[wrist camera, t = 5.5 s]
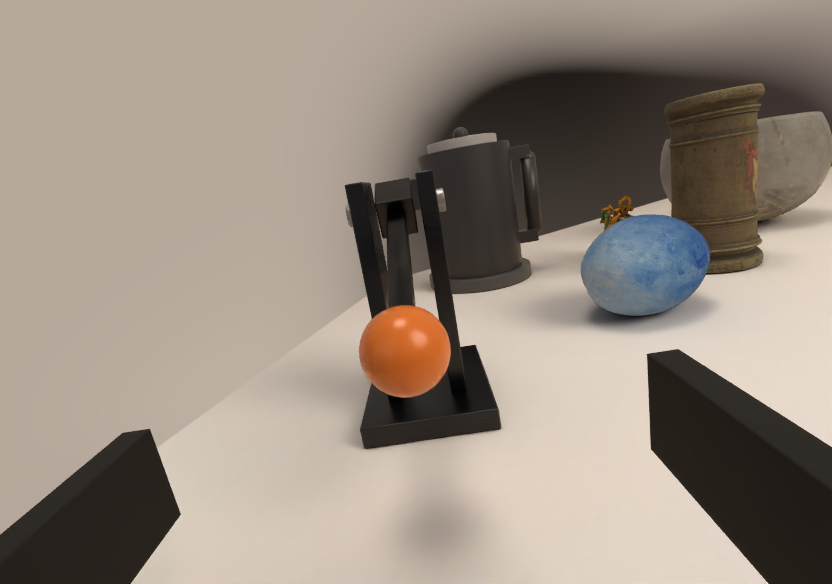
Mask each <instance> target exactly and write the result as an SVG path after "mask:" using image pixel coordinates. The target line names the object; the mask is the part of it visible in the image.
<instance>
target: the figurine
mask: <svg viewBox="0 0 832 584" xmlns="http://www.w3.org/2000/svg"><path fill="white" fill-rule="evenodd" d="M624 200H628V205H627V206H622V202H623V201H624ZM630 203H631V199H630V197H627V196H625V197H623V198H621V199H620V201H619V206H620V208H618V209H615V210H613V209H612V207H611V206H610V205H609V206H608V207H607V208H603V209H602V213H603V214H602V215H601V216H600V217H601V221H600V223H604V222H605V227H604V231H605V230H606V229H607V228H609V227H610V226H612V225H613V224H615V223H617V222H619V221H621V220H624V219H627V218H630V217H635V216H631V215H629V214H628V211H632V210H633V209H634V208H633V207H630V206H629V205H630ZM623 208H625V210H624V209H623ZM604 209H605V212H603V210H604ZM629 209H630V210H629ZM612 210H613V217H611V216H610V215H609V214H608V211H609V213H611V211H612ZM619 213H620V214H619ZM618 214H619V215H618Z"/></svg>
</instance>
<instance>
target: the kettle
mask: <svg viewBox="0 0 832 584" xmlns="http://www.w3.org/2000/svg"><path fill="white" fill-rule="evenodd" d="M427 149H428V154H426V155H423V156H420V157H418V165H419V171H420V172H421V171H427V170H433V174H434V180H435V187H436V189H439V188H443V191H444V196H445V203H446V211H443V212H439V213H440V219H441V226H442V232H443V239H444V245H445V252H446V258H447V265H448V271H449V278H450V284H451V290H452V293H474V292H482V291H489V290H495V289H499V288H503V287H507V286H511V285H514V284H517V283H519V282H521V281H524V280H525V279H527V278H528V277H529V276H530V275H531V268H530V261H529V260H527V259H525V258H522V255H521V246H520V243H525V242H531V241H537V240H539V239H538V233H539V232H540V231H541V229H542V221H541V210H540V200H539V189H538V179H537V169H536V159H535V155H534V153H532V152H530V149H529V144H527V145H521V146H516V147H509V141H497V139H496V134H495V133H485V134H477V135H471V136H468V132H467V130H466V129H465V128H463V127H459V128H457V129H455V131H454V132H453V139H449V140H445V141H441V142H437V143H434V144H431V145H429V146H427ZM516 159H520V167H521V176H522V186H523V195H524V205H525V214H526V223H527V229H523V230H519V228H518V219H517V210H516V201H515V192H514V183H513V174H512V166H511V160H516ZM410 183H411V189H412V195H413V200H414V206H415V210H419V209H421V206H420V200H419V194H418V188H417V182H416V179H411V180H410ZM429 277H430V283H431V287H432V289H433V290H434V285H433V279H432V273H431V274H430V276H429Z"/></svg>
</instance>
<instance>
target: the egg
mask: <svg viewBox="0 0 832 584" xmlns="http://www.w3.org/2000/svg"><path fill="white" fill-rule="evenodd" d="M709 260H710V249H709V246H708V244H707V241H706V240H705V238H704V237H703V235H702V234H701V233H700V232H698V231H697V230H696V229H695V228H693V227H692V226H691V225H689V224H688V223H686V222H684V221H682V220H679V219H677V218H673V217H669V216H664V215H639V216H635V217H630V218H627V219H624V220H621V221H619V222H617V223H615V224H613V225H612V226H610V227H609V228H607V229H606V230H605V231H603V232H602V233H601V234H600V235H599V236H598V237H597V238H596V239H595V240H594V242H593V243H592V244H591V246H590V247H589V248H588V250H587V252H586V254H585V256H584V258H583V260H582V264H581V277H582V280H583V283H584V285H585V287H586V289H587V291H588V294H589V295H590V297H591V298H592V299H593V301H594V302H595V303H596V304H598V305H599V306H600V307H602V308H604V309H606V310H607V311H610V312H613V313H617V314H622V315H628V316H643V315H650V314H655V313H660V312H663V311H666V310H668V309H671V308H673V307H675V306H676V305H678V304H680V303H681V302H683V301H685V300H686V299H687V298H688V297H689V296H690V295H691V294H692V293H694V291H695V290H696V289H697V288H698V287H699V285H700V284H701V282H702V281H703V279H704V277H705V275H706V272H707V268H708V265H709Z"/></svg>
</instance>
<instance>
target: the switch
mask: <svg viewBox="0 0 832 584" xmlns="http://www.w3.org/2000/svg"><path fill="white" fill-rule="evenodd" d="M375 209H376V213H377V217H378V221H379V225H380V229H381V233H382V237H383V238H387V260H388V261H387V263H388V264H387V265H388V309H386V310H384V311H382V312H380V313H379V314H377V315H376V316H375V317H374V318H373V319H372V320H371V321H370V322H369V323H368V325H367V326H366V328H365V330H364V332H363V334H362V337H361V340H360V346H359V358H360V362H361V366H362V369H363V371H364V373H365V375H366V377H367V378H368V379H369V381H370V382H371V383H372V384H373V385H374V386H375V387H376V388H378V389H379V390H380V391H382V392H384V393H386V394H388V395H391V396H395V397H402V398H407V397H414V396H418V395H421V394H423V393H426V392H427V391H429V390H431V389H432V388H433V387H434V386H436V385H437V384H438V383H439V381H440V380H441V379H442V377H443V376H444V374H445V373H446V370H447V368H448V365H449V362H450V354H451V348H450V341H449V337H448V334H447V332H446V330H445V328H444V326H443V325H442V324H441V322H440V321H439V320H438V319H437V318H436V317H435V316H434V315H433V314H431V313H430V312H428V311H426V310H425V309H422V308H419V307H416V306H415V297H414V287H413V276H412V266H411V257H410V246H409V237H408V234H412V233H418V227H417V220H416V212H415V206H414V200H413V195H412V189H411V183H410V179H409V178H404V179H399V180H393V181H387V182H382V183H377V184H375Z"/></svg>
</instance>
